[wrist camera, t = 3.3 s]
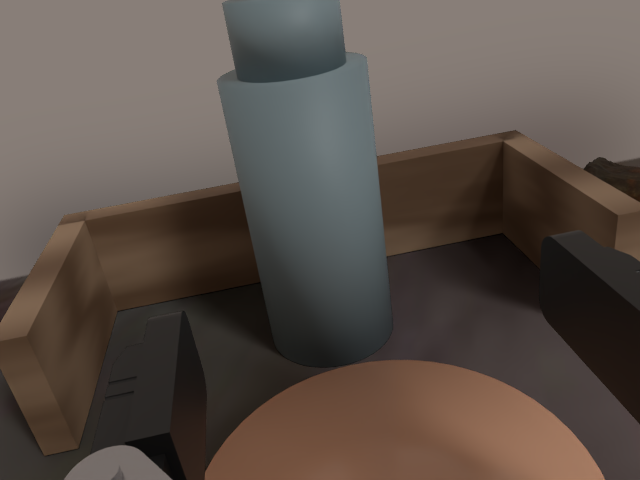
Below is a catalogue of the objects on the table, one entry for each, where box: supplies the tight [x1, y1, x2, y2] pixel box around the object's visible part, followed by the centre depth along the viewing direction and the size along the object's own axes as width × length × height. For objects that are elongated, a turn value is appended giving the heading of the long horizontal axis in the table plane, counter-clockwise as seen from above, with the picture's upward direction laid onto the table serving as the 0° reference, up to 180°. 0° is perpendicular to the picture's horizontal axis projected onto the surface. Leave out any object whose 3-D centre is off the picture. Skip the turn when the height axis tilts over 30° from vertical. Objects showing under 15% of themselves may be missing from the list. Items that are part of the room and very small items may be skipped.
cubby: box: [0, 130, 640, 456], centre depth 25 cm, size 10×22×5 cm, turn 99°
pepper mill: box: [217, 0, 393, 367], centre depth 21 cm, size 5×5×15 cm
